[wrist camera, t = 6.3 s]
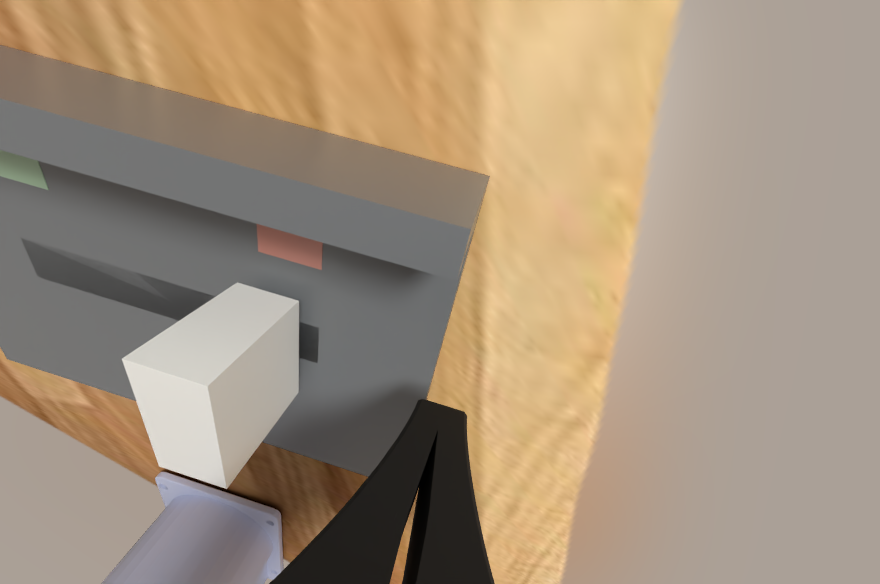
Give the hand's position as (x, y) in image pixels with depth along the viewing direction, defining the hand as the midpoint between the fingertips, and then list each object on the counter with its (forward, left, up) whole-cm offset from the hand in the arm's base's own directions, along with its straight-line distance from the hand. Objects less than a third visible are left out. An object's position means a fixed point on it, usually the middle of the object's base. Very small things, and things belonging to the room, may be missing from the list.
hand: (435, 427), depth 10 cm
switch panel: (0, +10, -3) cm, 11 cm away
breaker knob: (0, +6, -1) cm, 6 cm away
